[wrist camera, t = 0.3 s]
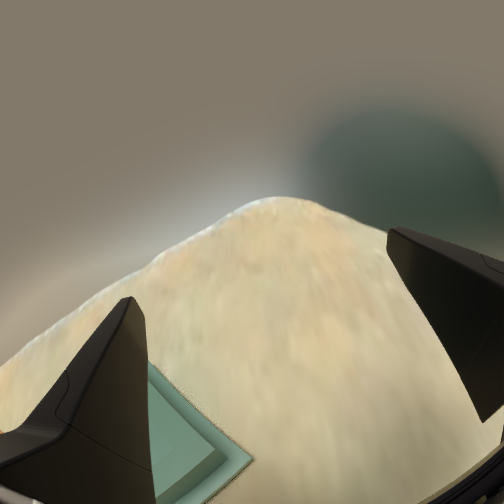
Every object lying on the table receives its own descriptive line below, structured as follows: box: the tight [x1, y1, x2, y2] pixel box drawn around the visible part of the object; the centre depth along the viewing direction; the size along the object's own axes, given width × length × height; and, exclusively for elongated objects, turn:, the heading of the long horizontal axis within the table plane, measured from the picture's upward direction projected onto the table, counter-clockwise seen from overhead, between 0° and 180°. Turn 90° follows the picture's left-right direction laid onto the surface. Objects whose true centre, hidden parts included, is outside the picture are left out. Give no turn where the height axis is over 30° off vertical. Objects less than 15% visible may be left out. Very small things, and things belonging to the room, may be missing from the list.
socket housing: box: [148, 361, 253, 504], centre depth 16 cm, size 14×14×4 cm
